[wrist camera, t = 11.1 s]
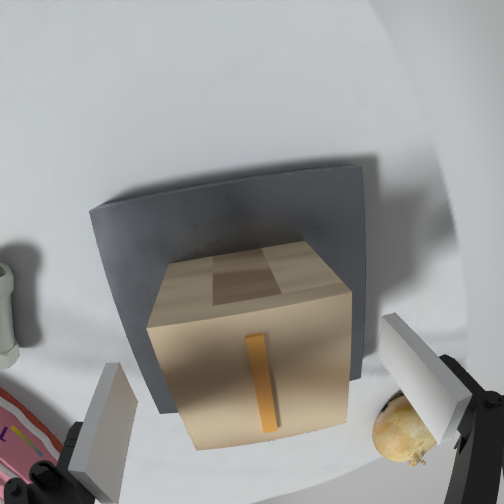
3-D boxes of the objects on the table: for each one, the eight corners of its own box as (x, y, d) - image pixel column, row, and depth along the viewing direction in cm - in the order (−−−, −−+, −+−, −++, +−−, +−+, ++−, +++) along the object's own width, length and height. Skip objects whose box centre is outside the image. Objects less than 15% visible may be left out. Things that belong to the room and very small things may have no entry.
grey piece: (100, 204, 18) (42, 238, 11) (348, 164, 19) (416, 177, 12) (162, 396, 24) (152, 471, 16) (352, 363, 25) (390, 427, 17)
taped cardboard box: (312, 350, 21) (347, 424, 14) (198, 370, 21) (196, 453, 14) (304, 240, 18) (353, 294, 12) (168, 263, 18) (145, 330, 11)
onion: (355, 410, 27) (382, 463, 20) (423, 368, 26) (460, 413, 20) (373, 442, 30) (396, 487, 23) (431, 406, 29) (460, 446, 22)
